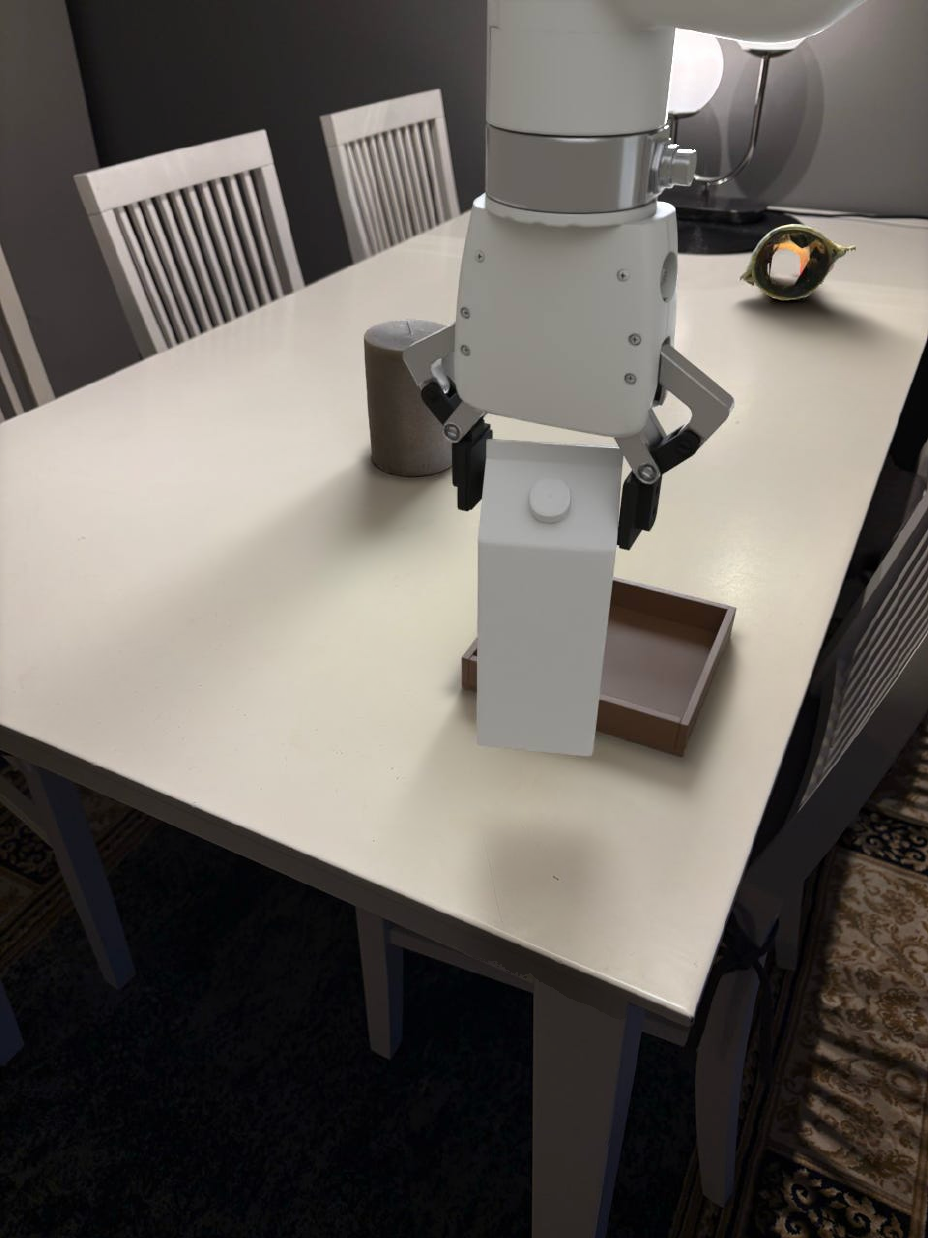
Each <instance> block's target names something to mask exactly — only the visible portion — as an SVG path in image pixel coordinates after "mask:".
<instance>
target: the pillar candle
mask: <svg viewBox="0 0 928 1238" xmlns="http://www.w3.org/2000/svg"><path fill="white" fill-rule="evenodd" d="M446 326H448V325H447V324H444V323H442V322H441V323H440V322H437V321H432V320H427V319H426V320H424V319H418V318H417V319H416V318H407V319H406V318H405V319H399V320H391V321H386V322H381V323H378V324H375V325H372V326H371V327H370V328H368V329H367V330H366V331H365V332H364V334H363V350H364V351H363V352H364V367H365V369H364V371H365V382H366V385H365V386H366V398H367V399H366V402H367V416H368V426H369V436H370V437H369V438H370V451H371V456H370V457H371V461H372V463H373V465H374V466H375V467H376V468H378V469H380V470H382V471H383V472H386V473H387V474H391V475H394V476H405V477H422V476H428V475H435V474H439V473H441V472H443V471H446V470H448V469H449V468H452V442H449V441H448V440H446V439H445V437H444V436H443V434H442V426H443V425H442V424H441V423H440V422H439V420H438V419H437V418H436V417H435V416H434V414H433V413H432V412H431V411H430V409H429V408H428V407H427V406H426V405H425V403H424V402H423V400H422V398H421V389H420V387H419V385H418V386H417V384H416V383H415V381H414V379H413V377H412V375H411V373H410V371H409V369H408V368H407V366H406V364H405V362H404V360H403V351H404V350H405V349H406V348H408V347H409V346H411V345H412V344H414V343H415V342H416V341H418V340H420V339H422V338H424V337H426V336H428V335H430V334H432V333H434V332H436V331H438V330H440V329H442V328H444V327H446ZM441 363H442V366H443V368H444V373H445V375H446V376H448V377H450V378H451V379H452V381H453V382H454V383H455V384H456V382H455V365H454V352H453V353H451V354H449V355H447V356H445V357H443V358H441Z"/></svg>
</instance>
